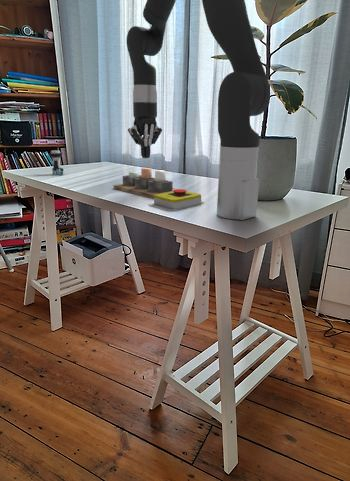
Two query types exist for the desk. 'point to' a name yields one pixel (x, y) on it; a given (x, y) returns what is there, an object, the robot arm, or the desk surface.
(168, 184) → the brown wooden flat board
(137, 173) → the sage key
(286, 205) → the desk surface
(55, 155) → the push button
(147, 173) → the peach small block
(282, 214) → the desk surface
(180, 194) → the emergency button
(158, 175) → the ivory key
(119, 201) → the desk surface
